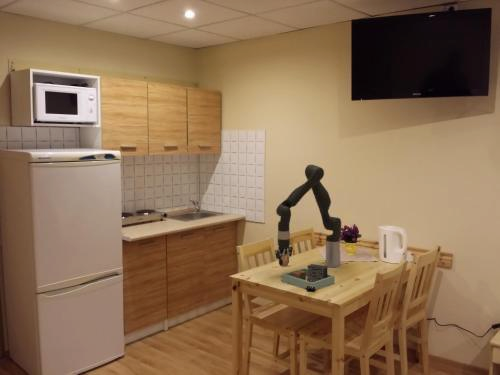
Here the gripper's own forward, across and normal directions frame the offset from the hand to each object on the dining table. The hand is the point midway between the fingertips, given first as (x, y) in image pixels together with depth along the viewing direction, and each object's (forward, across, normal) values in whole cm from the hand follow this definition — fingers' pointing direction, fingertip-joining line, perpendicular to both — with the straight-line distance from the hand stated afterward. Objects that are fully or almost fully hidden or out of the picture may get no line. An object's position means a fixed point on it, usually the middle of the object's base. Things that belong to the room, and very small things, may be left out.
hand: (284, 264), depth 289 cm
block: (+8, -1, -13) cm, 15 cm away
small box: (+8, +5, -23) cm, 25 cm away
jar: (+1, 0, 0) cm, 1 cm away
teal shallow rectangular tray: (+8, +2, -18) cm, 20 cm away
